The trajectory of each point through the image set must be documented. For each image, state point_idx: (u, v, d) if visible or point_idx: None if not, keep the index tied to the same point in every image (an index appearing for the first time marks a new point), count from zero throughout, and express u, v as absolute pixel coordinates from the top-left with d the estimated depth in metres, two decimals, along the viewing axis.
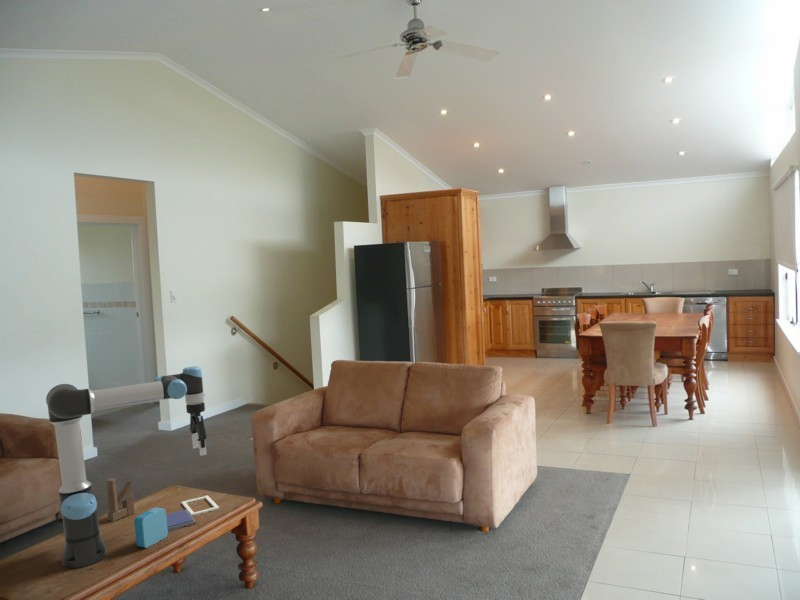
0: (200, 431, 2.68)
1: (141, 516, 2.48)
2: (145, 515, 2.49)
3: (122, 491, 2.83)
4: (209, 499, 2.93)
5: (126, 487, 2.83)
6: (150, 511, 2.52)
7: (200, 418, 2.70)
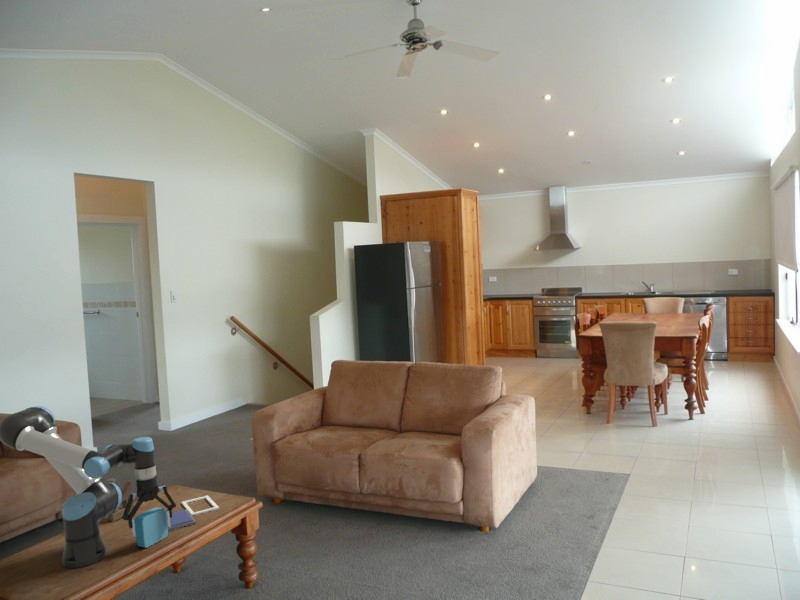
0: (125, 509, 2.48)
1: (141, 516, 2.48)
2: (145, 515, 2.49)
3: (122, 491, 2.83)
4: (209, 499, 2.93)
5: (126, 487, 2.83)
6: (151, 511, 2.52)
7: (129, 496, 2.48)
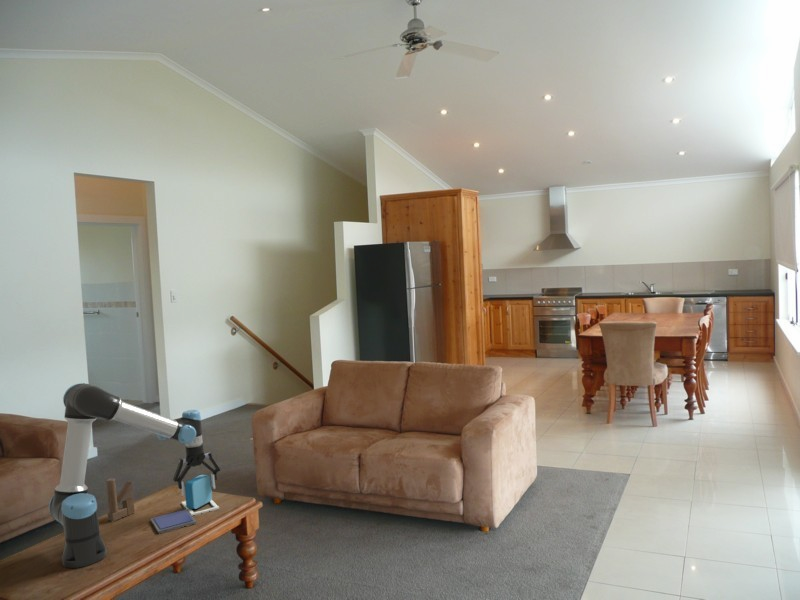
0: None
1: (190, 481, 2.83)
2: (194, 480, 2.84)
3: (122, 491, 2.83)
4: None
5: (126, 487, 2.83)
6: (198, 478, 2.87)
7: (179, 461, 2.83)
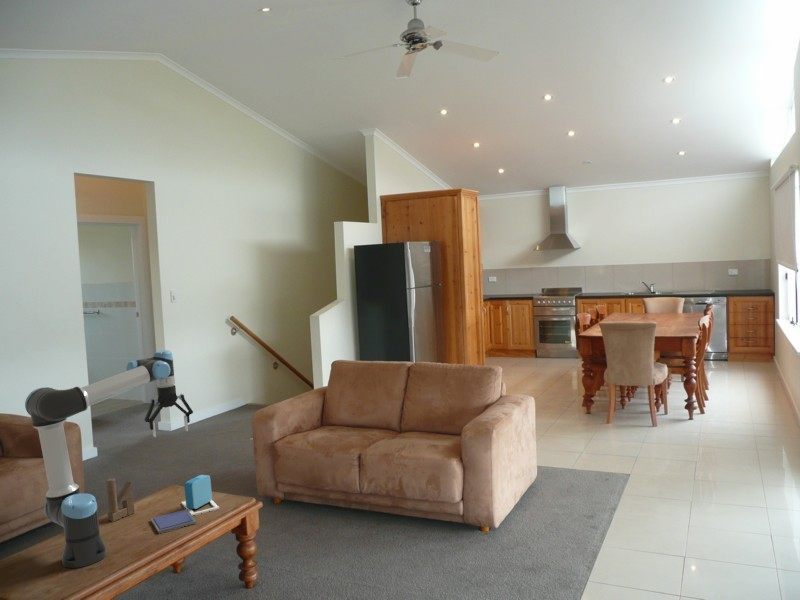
0: (147, 413, 2.78)
1: (190, 481, 2.83)
2: (193, 480, 2.84)
3: (122, 491, 2.83)
4: None
5: (126, 487, 2.83)
6: (198, 478, 2.87)
7: (151, 401, 2.78)
